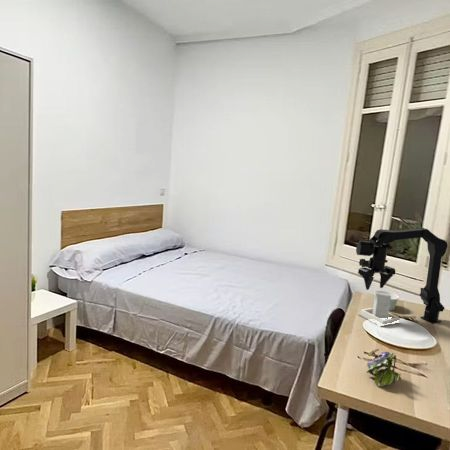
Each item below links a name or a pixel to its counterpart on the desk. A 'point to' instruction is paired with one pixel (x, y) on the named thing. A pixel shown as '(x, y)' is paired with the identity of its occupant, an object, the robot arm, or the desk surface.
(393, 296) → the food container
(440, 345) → the desk surface
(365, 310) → the white shallow square tray
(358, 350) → the desk surface
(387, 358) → the passion flower
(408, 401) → the desk surface
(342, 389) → the desk surface
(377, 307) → the skincare box
